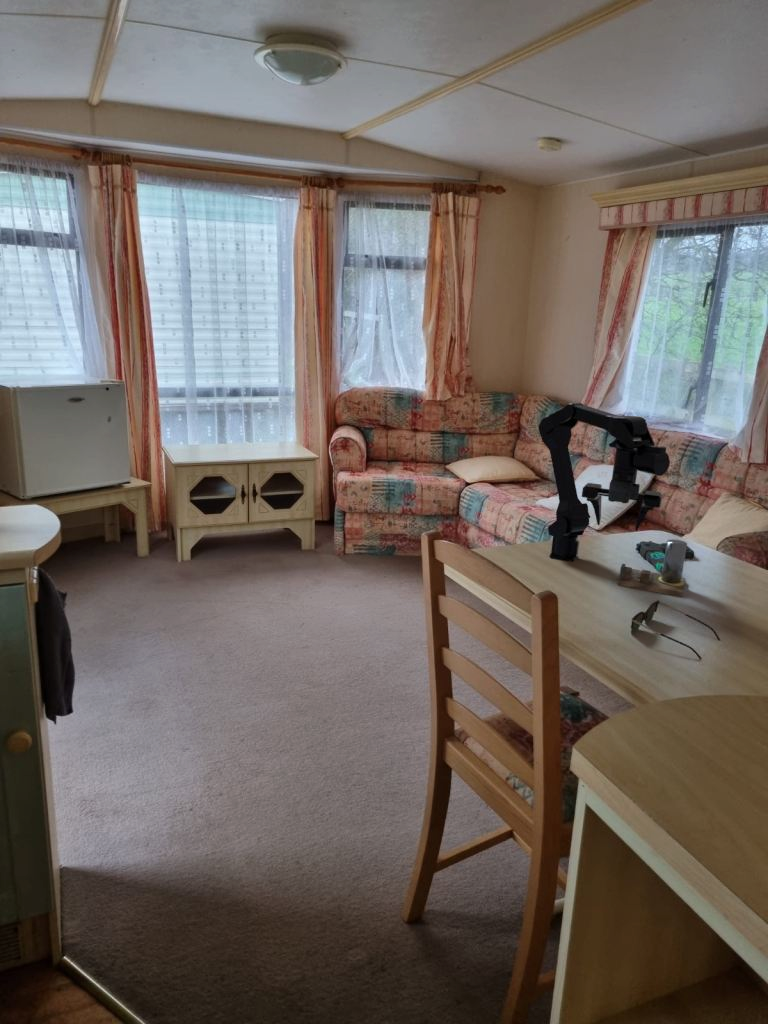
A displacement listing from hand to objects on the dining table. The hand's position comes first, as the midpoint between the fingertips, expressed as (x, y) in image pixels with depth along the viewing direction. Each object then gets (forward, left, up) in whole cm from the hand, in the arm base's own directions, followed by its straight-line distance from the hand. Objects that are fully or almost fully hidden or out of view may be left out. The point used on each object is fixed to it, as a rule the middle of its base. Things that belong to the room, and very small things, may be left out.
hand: (617, 527), depth 180 cm
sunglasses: (+17, -32, -14) cm, 39 cm away
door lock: (+10, 0, -13) cm, 16 cm away
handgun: (+14, +20, -14) cm, 28 cm away
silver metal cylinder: (+14, 0, -11) cm, 18 cm away
